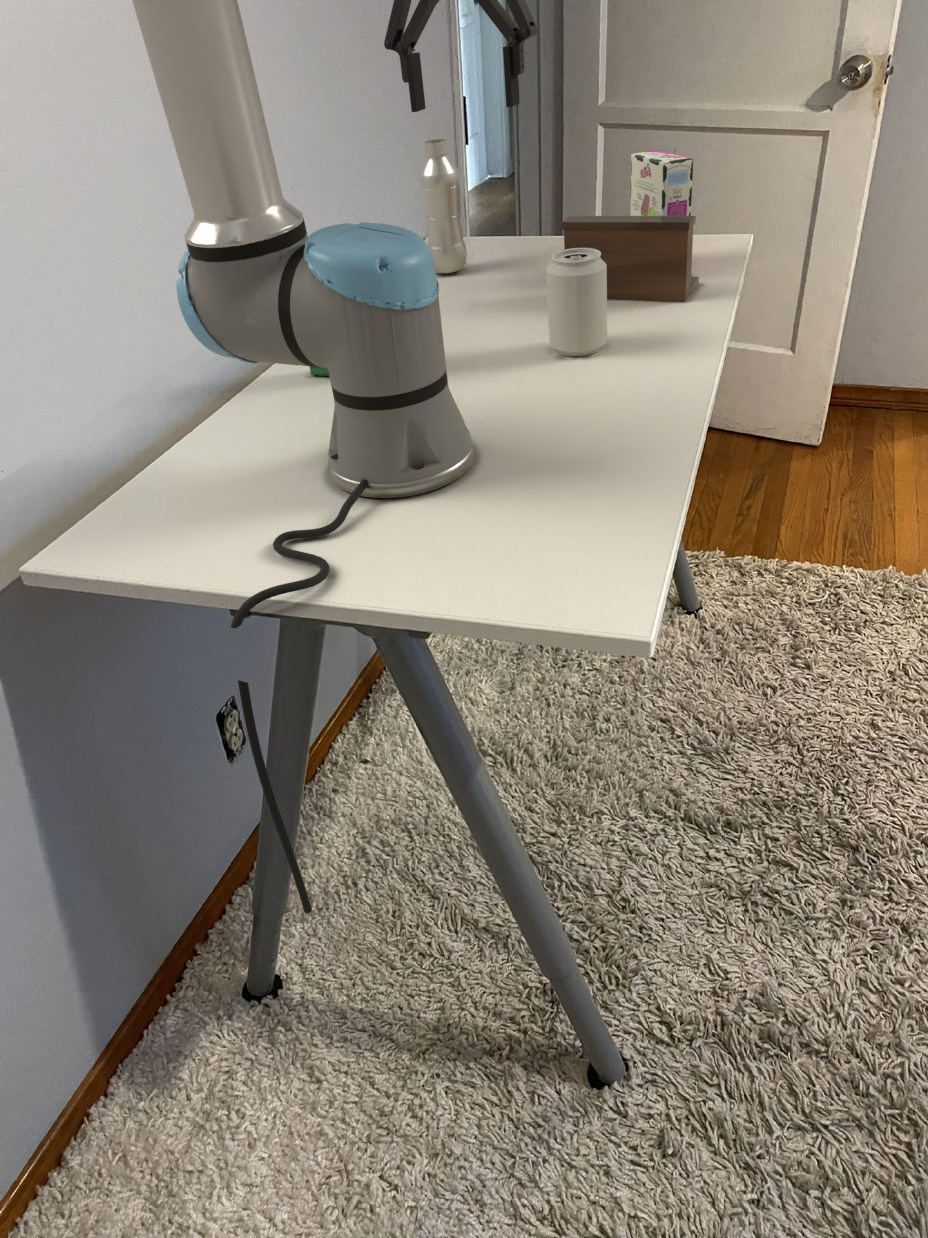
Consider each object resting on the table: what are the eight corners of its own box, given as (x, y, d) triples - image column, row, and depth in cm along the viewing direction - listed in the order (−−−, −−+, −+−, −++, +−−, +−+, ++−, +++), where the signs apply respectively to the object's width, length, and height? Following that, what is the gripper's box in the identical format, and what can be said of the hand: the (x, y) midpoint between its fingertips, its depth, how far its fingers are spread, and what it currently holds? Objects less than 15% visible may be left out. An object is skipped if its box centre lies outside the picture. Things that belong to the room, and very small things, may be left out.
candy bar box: (690, 275, 140) (695, 157, 131) (660, 281, 139) (663, 162, 130) (656, 258, 149) (658, 147, 139) (628, 264, 148) (628, 152, 139)
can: (606, 336, 122) (605, 242, 115) (608, 356, 116) (607, 258, 109) (550, 340, 123) (545, 247, 116) (549, 360, 117) (544, 263, 110)
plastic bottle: (423, 272, 157) (407, 142, 145) (459, 263, 159) (446, 135, 147) (438, 280, 152) (423, 146, 140) (475, 271, 154) (463, 139, 142)
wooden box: (686, 302, 130) (689, 222, 124) (564, 298, 137) (561, 221, 131) (700, 284, 136) (703, 207, 130) (582, 281, 143) (580, 207, 137)
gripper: (558, -113, 105) (564, 98, 117) (370, -84, 115) (394, 107, 127) (535, -114, 100) (544, 107, 112) (340, -84, 109) (368, 116, 122)
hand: (464, 108), depth 120 cm, fingers open, 13 cm apart
